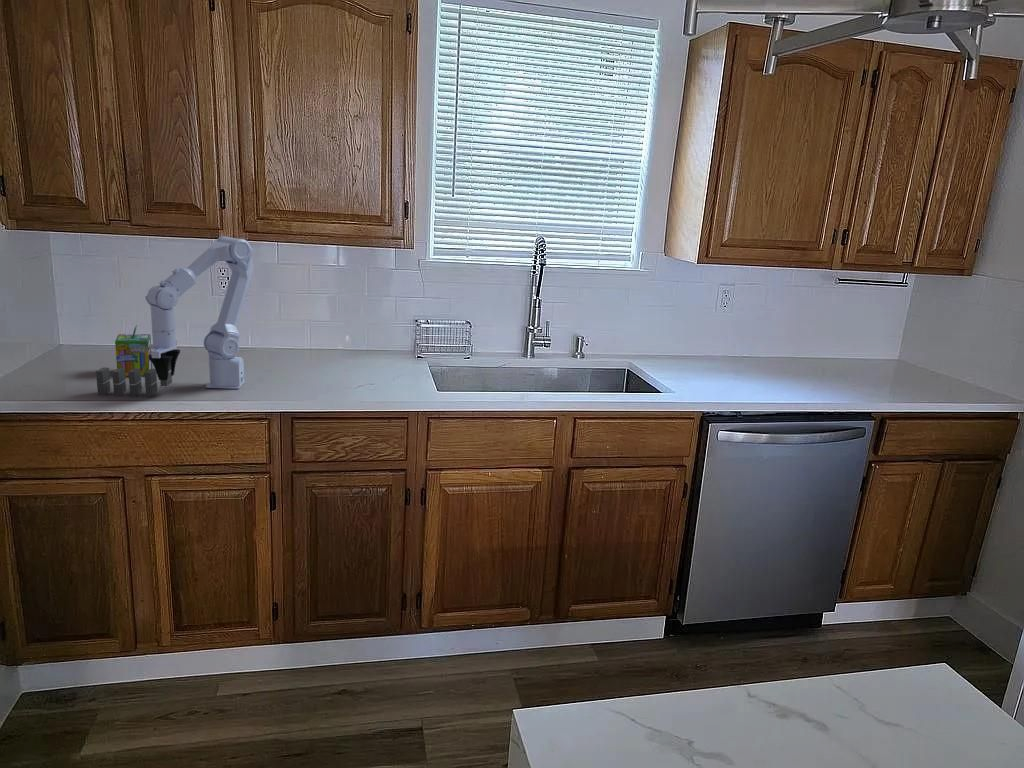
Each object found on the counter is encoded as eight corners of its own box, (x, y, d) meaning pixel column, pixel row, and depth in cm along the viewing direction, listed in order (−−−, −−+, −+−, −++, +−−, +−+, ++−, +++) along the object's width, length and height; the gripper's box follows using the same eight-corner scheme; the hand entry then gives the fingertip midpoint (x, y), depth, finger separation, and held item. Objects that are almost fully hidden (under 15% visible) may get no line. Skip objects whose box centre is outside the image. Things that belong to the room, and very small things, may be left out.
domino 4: (157, 392, 206) (156, 369, 205) (152, 397, 202) (150, 372, 200) (151, 392, 206) (150, 368, 204) (146, 397, 202) (144, 372, 200)
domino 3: (142, 392, 206) (140, 368, 204) (136, 396, 202) (134, 372, 200) (136, 392, 206) (134, 368, 204) (130, 396, 201) (128, 372, 200)
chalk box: (120, 369, 227) (117, 323, 223) (153, 369, 230) (150, 323, 226) (116, 377, 219) (112, 329, 215) (150, 376, 222) (147, 329, 218)
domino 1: (110, 391, 205) (108, 367, 203) (104, 395, 201) (102, 371, 199) (104, 391, 205) (102, 367, 203) (98, 395, 200) (95, 371, 199)
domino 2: (126, 391, 205) (124, 368, 203) (120, 396, 201) (118, 371, 199) (120, 391, 205) (118, 367, 203) (114, 396, 201) (112, 371, 199)
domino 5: (172, 382, 206) (170, 358, 204) (166, 386, 202) (165, 361, 200) (166, 382, 206) (164, 358, 204) (160, 386, 202) (159, 361, 200)
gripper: (157, 324, 206) (160, 370, 210) (138, 334, 192) (141, 383, 196) (183, 325, 207) (185, 371, 211) (166, 335, 193) (169, 384, 197)
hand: (166, 377), depth 203 cm, fingers closed on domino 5, 4 cm apart
